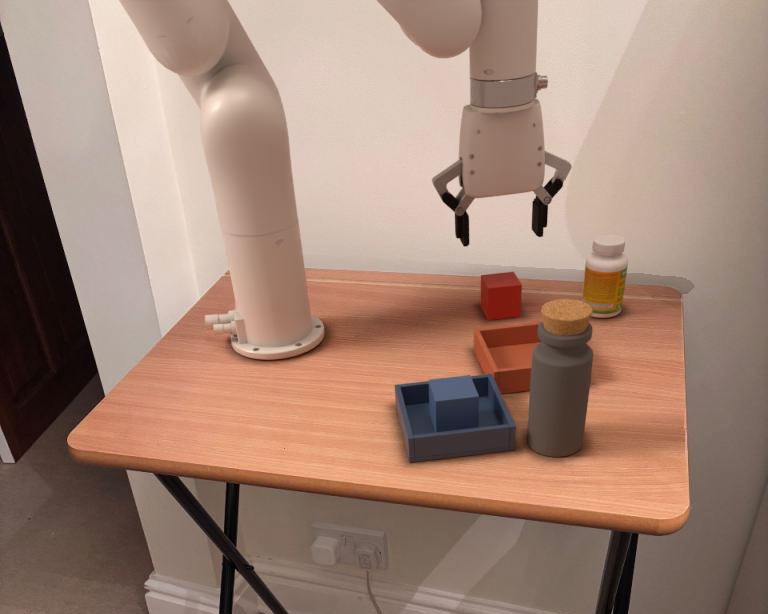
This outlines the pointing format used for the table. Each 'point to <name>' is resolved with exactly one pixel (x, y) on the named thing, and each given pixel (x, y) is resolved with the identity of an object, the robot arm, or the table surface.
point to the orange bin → (507, 354)
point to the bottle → (560, 379)
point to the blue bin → (429, 445)
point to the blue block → (453, 403)
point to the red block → (500, 295)
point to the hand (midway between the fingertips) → (500, 238)
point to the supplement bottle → (605, 276)
